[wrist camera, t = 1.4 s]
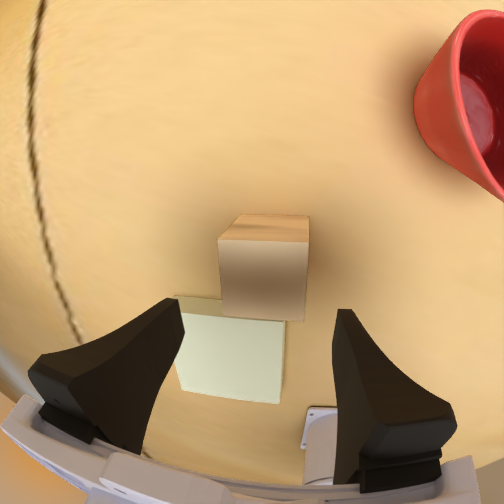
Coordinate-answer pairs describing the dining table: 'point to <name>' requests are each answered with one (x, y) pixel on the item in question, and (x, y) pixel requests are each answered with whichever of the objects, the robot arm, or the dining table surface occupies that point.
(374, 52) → the dining table surface
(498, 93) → the flower pot
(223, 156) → the dining table surface
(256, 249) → the maple block
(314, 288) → the dining table surface
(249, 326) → the base block
